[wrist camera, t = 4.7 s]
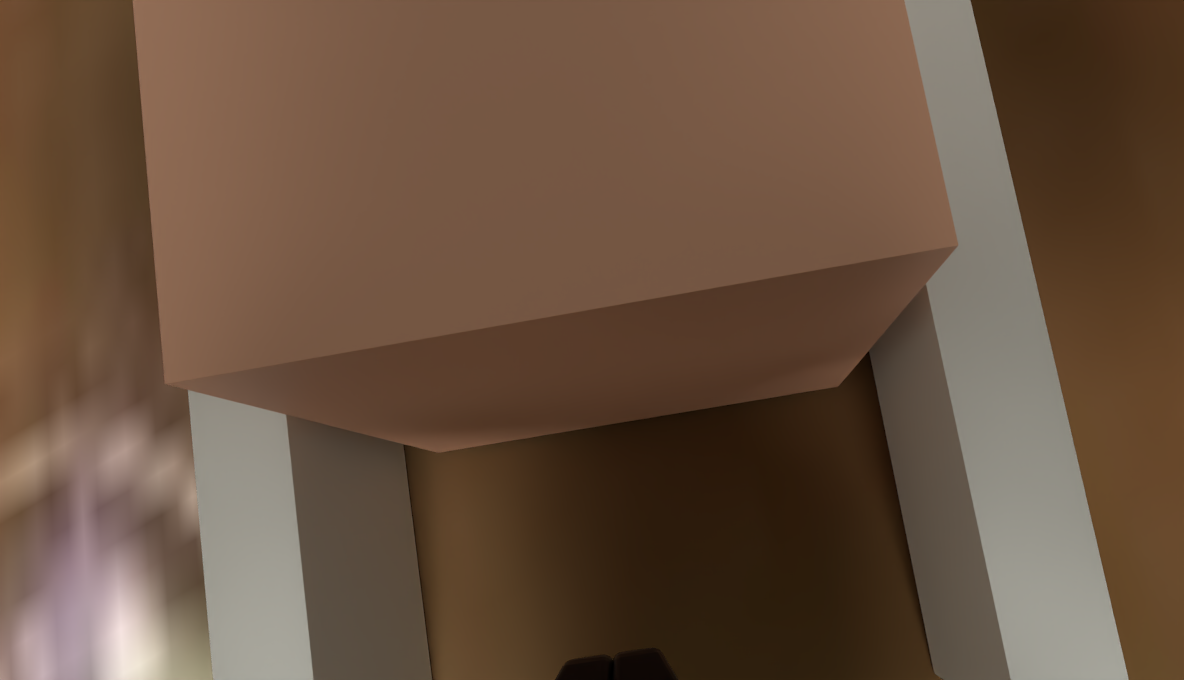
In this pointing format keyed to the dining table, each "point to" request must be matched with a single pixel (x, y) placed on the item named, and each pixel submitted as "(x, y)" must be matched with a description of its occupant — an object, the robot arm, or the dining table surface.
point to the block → (531, 205)
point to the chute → (912, 425)
